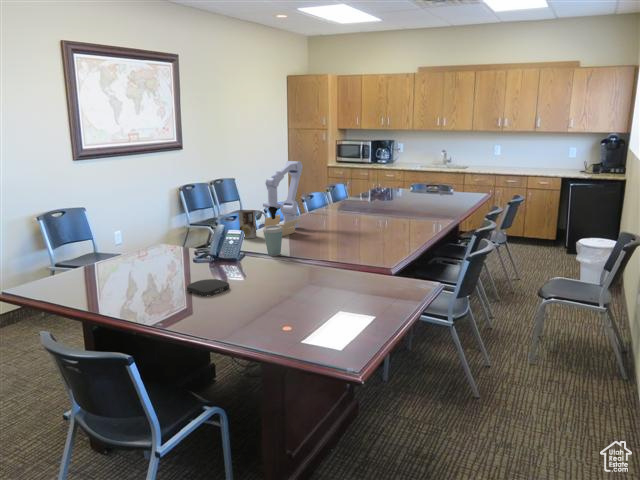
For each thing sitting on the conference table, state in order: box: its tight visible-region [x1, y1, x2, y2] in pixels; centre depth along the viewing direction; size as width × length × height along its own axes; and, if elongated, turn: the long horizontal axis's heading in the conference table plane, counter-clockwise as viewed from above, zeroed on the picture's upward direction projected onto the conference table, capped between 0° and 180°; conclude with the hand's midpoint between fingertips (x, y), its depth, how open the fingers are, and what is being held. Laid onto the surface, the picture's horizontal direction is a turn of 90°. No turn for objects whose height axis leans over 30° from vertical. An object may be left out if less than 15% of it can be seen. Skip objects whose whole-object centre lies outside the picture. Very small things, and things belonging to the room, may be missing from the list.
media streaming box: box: [186, 278, 230, 297], centre depth 221 cm, size 15×15×3 cm
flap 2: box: [282, 218, 300, 229], centre depth 323 cm, size 15×1×6 cm
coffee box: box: [238, 209, 258, 239], centre depth 319 cm, size 9×6×16 cm
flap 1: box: [263, 214, 281, 228], centre depth 330 cm, size 15×1×6 cm, turn 147°
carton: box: [279, 224, 296, 237], centre depth 328 cm, size 18×12×4 cm
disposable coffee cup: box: [262, 224, 283, 257], centre depth 276 cm, size 11×11×15 cm
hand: (273, 218), depth 329 cm, fingers closed, pressing on flap 1
